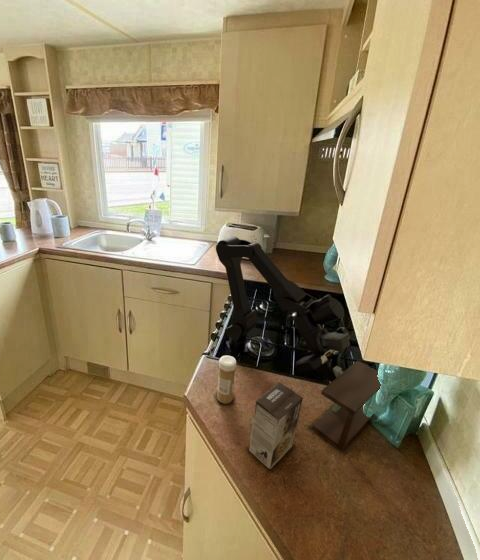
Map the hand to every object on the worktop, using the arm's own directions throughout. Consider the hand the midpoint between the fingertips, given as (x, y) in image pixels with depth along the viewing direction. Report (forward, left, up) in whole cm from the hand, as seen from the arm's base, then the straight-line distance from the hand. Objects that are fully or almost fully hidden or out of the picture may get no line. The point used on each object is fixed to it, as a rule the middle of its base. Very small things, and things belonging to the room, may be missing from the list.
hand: (339, 382), depth 85 cm
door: (0, 0, -6) cm, 6 cm away
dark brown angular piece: (+6, 0, -8) cm, 10 cm away
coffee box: (+11, -23, -8) cm, 27 cm away
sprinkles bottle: (-6, -30, -8) cm, 31 cm away
